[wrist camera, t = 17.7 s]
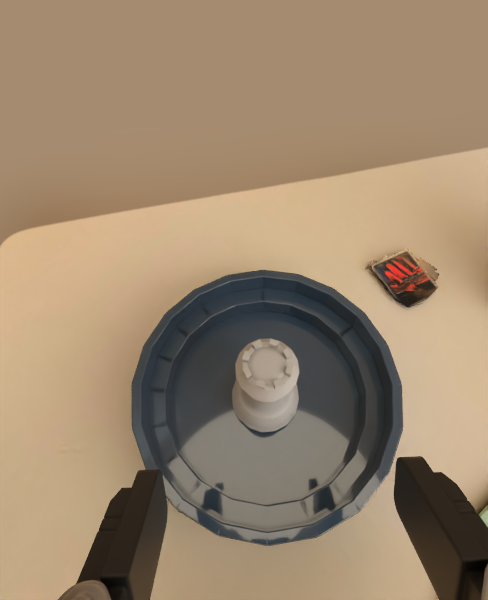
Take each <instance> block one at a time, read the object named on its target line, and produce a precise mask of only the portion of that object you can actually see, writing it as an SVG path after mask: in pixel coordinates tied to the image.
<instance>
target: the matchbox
mask: <svg viewBox="0 0 488 600" xmlns="http://www.w3.org/2000/svg"><path fill="white" fill-rule="evenodd" d="M384 257H385V259H383V260H381V261H380V262H377V260H376V261H374V260H373V261H372V262H371V263H370V264H369V265H367V266H369V267H371V266H372V269H373V271H374V272H375V274H376V273H377V275H378V278H380V280H382V281H383V282H384V284H385V285H386V286H387V288H388V289H389V290H390V293H391V294H392V295H393V296H394V297H395V298H397V299H398V300H399V301H400V302H401V303H402V304H404V305H405V306H406V307H410V306H413V305H415V304H417V303H419V302H420V301H424V300H425V299H427V298H428V297H429V296H430V295H431V294H432V293H433V292H434V291H435V290H436V289H437V288H438V286H437V285H436V283H434V281H435V280H436V279H437V278H438V276H439V274H438V273H437V272H435V270H437V269H435V267H434V266H431V264H429V263H428V262H426V261H424V260H423V259H422V258H419V259H418V260H420V261H421V262H419V261H418V260H417V259H416V258H414V257H413V255H412V252H410V251H409V249H407V250H403V251H401V252H400V253H397V254H396V253H395V254H394V255H393V256H390V257H387V256H384ZM375 262H376V263H375ZM418 262H419V263H418ZM367 268H368V267H367ZM365 269H366V268H365ZM426 272H427V273H426ZM431 276H432V278H433V279H434V280H432V278H431ZM388 289H386V290H388ZM423 303H424V302H423ZM421 304H422V303H421ZM419 305H420V304H419ZM417 306H418V305H417ZM415 307H416V306H415Z"/></svg>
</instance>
